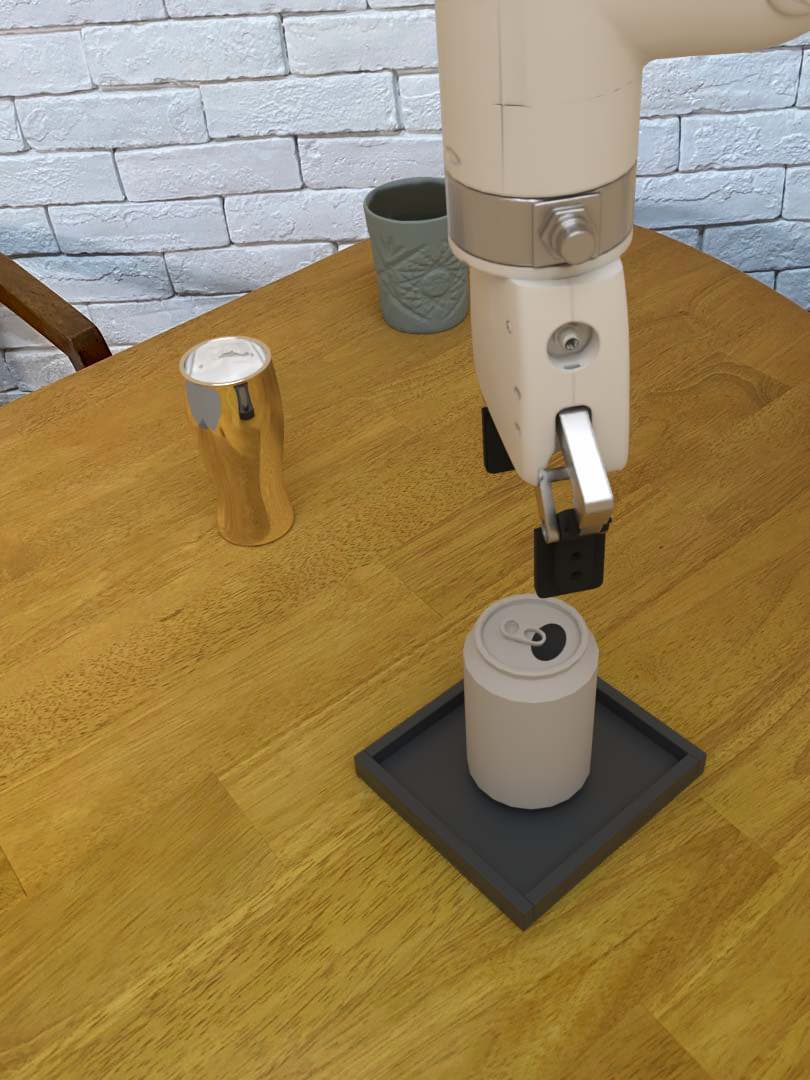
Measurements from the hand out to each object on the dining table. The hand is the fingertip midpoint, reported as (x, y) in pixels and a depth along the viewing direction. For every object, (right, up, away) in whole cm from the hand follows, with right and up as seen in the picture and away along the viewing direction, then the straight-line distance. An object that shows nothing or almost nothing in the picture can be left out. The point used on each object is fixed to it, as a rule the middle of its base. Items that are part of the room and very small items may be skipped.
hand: (539, 524), depth 57 cm
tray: (+1, -15, +13) cm, 20 cm away
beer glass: (-19, +1, +33) cm, 38 cm away
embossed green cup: (-5, +22, +56) cm, 61 cm away
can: (+1, -15, +13) cm, 20 cm away
